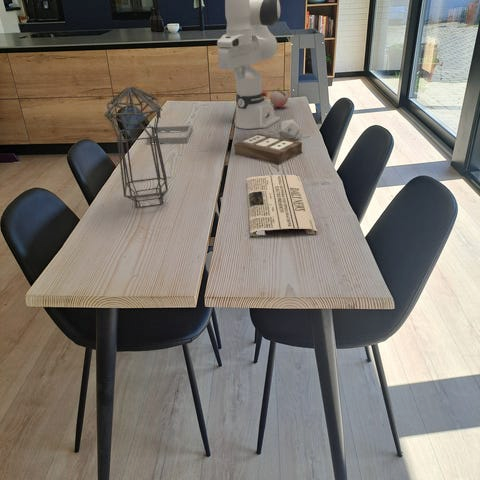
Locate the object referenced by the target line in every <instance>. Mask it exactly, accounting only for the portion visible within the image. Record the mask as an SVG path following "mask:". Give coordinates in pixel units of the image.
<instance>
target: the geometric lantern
mask: <svg viewBox="0 0 480 480" xmlns="http://www.w3.org/2000/svg"><path fill="white" fill-rule="evenodd" d="M133 96H134V97H135V98H136V100H137V101H138V103H135V101H134V98H133ZM125 97H126V99H125V100H126V101H125V102H122V101H123V100H124V98H125ZM155 101H156V102H155ZM159 101H160V99H159V98H157V97H155V96H153V95H151V94H150V93H147V92H146V91H143V90H141V89H139V88H136V87H135V86H132V85H130V86H127V87H125V88H124V89H122V91H121V92H119V93H118V94H117V95H115V96H114V98H113V99H112V98H111V100H110V101H109V102H107V103H106V106H107V110H106V112H105V113H104V117H106V119H107V120H109V122H110V123H111V126H112V128H113V130H114V133H115V136H116V139H117V141H116V142H117V148H118V157H119V165H120V174H121V181H122V191H123V196H124V198H127V199H129V200H131V201H134V202H135V208H139V209H143V208H148V207H154V206H155V207H157V206H161V205H163V204H164V199H163V197H164V196H165V194H167V192H168V191H169V189H168V177H167V173H166V169H165V164H164V159H163V158H164V157H163V155H162V149H161V144H159V139H158V138H159V135H158V134H159V133H158V131H157V127H159V126H158V125H159V119H161V111H164V110H163V108H162V107H161V105H159ZM143 103H145V104H146V105H144V107H143ZM110 105H111V106H110ZM121 105H124V106H125V107H123V106H121ZM128 106H131V109H130V110H129V108H128ZM136 106H140V111H137V110H136V109H137V108H136ZM148 107H150V108H151V109H152V110H148V111H144V110H146V108H148ZM117 108H119V109H122V110H124V112H121V113H114V112H115V110H116V109H117ZM143 111H144V112H143ZM155 113H156V116H155V117H156V118H154V126H151V124H150V123H149V122H148V120H147V119H148V118H149V117H150V116H152V115H154V114H155ZM146 114H147V115H146ZM144 115H146V116H144ZM116 116H123V117H124V118H125V120H126V122H125V121H124V120H121V119H120V118H118V117H116ZM127 116H128V117H127ZM132 116H135V117H136V118H135V119H136V121H137V122H132V123H130V120H131V117H132ZM138 116H140V117H142V118H141V119H140V120H139V117H138ZM114 120H116V121H118V122H120V123H122V124H124V125H125V127H124V129H121V130H120V128H119V127H118V125H117V124H116V123H115V121H114ZM144 121H145V122H146V124H148V126H144V125H143V124H142V123H143V122H144ZM135 125H139V126H140V127H135V128H128V127H131V126H135ZM155 127H156V128H155ZM147 129H151V132H152V135H153V136H151V135H150V133H149V131H148V130H147ZM153 129H154V130H153ZM117 130H118V132H117ZM132 130H144V132H145V133H146V134H147V135H148V136H149V137H148V136H147V137H148V138H147V137H140V138H130V139H129V138H128V136H127V135H128V134H127V131H132ZM154 132H155V134H156V136H154ZM123 135H124V137H125V139H123V138H122V137H123ZM152 138H153V142H154V144H152ZM147 139H150V143H151V144H150V148H151V152H152V156H153V157H152V158H153V164H154V168H155V174H156V177H152V178H151V177H150V178H145V179H144V178H143V179H142V178H141V179H135V180H134V179H133V174H132V165H131V156H130V150H129V141H140V140H147ZM155 141H156V144H155ZM123 142H125V145H126V146H125V147H126V154H127V159H126V155H125V150H124V149H125V148H124V143H123ZM127 160H128V165H127ZM158 160H159V161H158ZM159 163H160V164H159ZM159 165H160V166H159ZM127 166H128V167H129V168H128V167H127ZM160 168H161V171H160ZM128 169H129V170H128ZM160 172H161V173H162V177H161V173H160ZM153 180H154V181H155V180H157V186H156V187H152V188H147V189H141V190H140V189H139V190H137V188H136V186H135V184H134V183H138V182H140V183H141V182H145V181H146V182H147V181H153ZM161 180H162V181H163V183H162V184H161ZM131 184H132V186H133V187H132V188H131ZM163 186H165V187H164V188H165V190H164V191H163V190H162V187H163ZM127 188H128V192H129V195H127ZM133 189H134V190H133ZM152 190H156V192H155V193H148V194H140V195H138V193H140V192H147V191H152ZM152 196H159V197H155V198H145V199H139V200H138V199H137V198H143V197H152ZM153 200H159V203H156V204H148V205H143V206H141V203H140V202H144V201H153Z"/></svg>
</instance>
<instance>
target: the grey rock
mask: <svg viewBox="0 0 480 480" xmlns="http://www.w3.org/2000/svg"><path fill="white" fill-rule="evenodd" d="M300 130H301V127H300V126H299V125H298V123H296V121H295V120H294V119H292V118H291V119H286V120H281V121H280V124H279V126H278V130H277V131H276V133H277V134H278V135H279V136H280V138H282V139H287V140H292V141H296V140H297V136H298V135H299V132H300Z"/></svg>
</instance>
